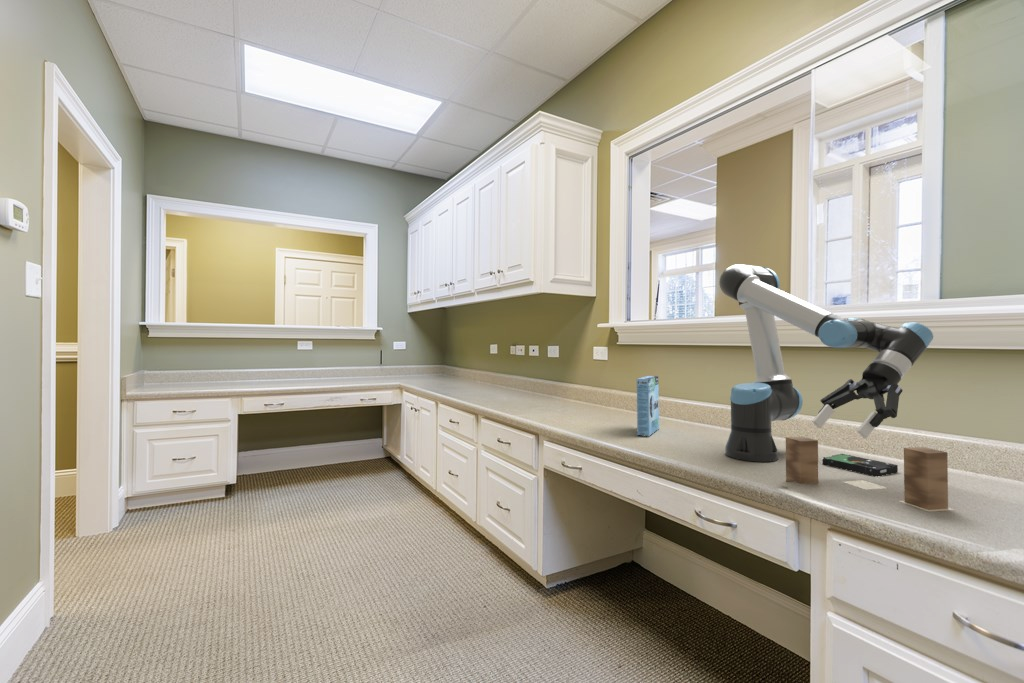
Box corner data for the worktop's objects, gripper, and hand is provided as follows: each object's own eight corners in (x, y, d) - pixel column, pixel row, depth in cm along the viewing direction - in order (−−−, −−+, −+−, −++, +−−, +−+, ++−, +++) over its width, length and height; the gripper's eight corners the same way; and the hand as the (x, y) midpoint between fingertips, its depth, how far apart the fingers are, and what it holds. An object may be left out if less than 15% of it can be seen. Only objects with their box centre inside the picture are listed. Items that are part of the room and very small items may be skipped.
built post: (904, 501, 101) (903, 447, 101) (923, 500, 102) (922, 447, 102) (928, 510, 96) (927, 453, 96) (948, 508, 97) (947, 452, 97)
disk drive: (898, 474, 128) (841, 461, 142) (898, 464, 128) (841, 452, 142) (878, 479, 124) (821, 465, 137) (878, 469, 124) (821, 456, 137)
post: (786, 482, 120) (785, 437, 120) (802, 481, 120) (802, 436, 120) (800, 488, 115) (800, 441, 115) (818, 487, 115) (817, 440, 115)
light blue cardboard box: (649, 437, 178) (648, 379, 178) (636, 436, 181) (635, 378, 181) (659, 429, 195) (659, 375, 195) (647, 428, 198) (647, 375, 198)
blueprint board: (818, 483, 118) (818, 478, 118) (889, 483, 118) (889, 478, 118) (890, 517, 95) (890, 511, 95) (978, 517, 95) (978, 511, 95)
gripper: (945, 384, 109) (893, 449, 107) (852, 377, 134) (808, 430, 132) (926, 363, 109) (873, 428, 106) (836, 359, 133) (791, 412, 131)
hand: (837, 429), depth 119 cm, fingers open, 13 cm apart
